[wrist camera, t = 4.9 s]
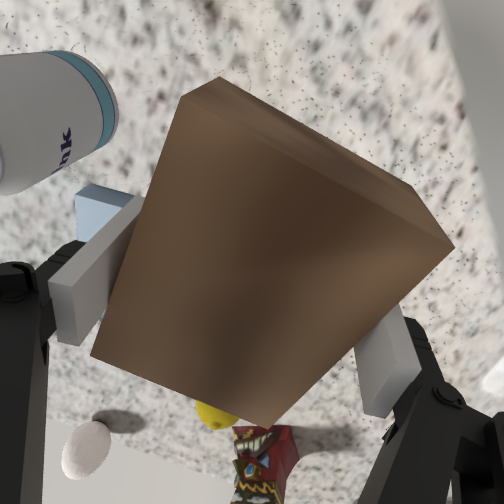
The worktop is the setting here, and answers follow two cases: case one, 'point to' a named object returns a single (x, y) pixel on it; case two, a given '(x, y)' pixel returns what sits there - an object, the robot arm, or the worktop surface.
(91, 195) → the base brick
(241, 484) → the tiki totem
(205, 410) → the lemon
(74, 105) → the beverage can
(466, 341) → the worktop surface
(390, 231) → the walnut brick
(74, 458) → the egg
